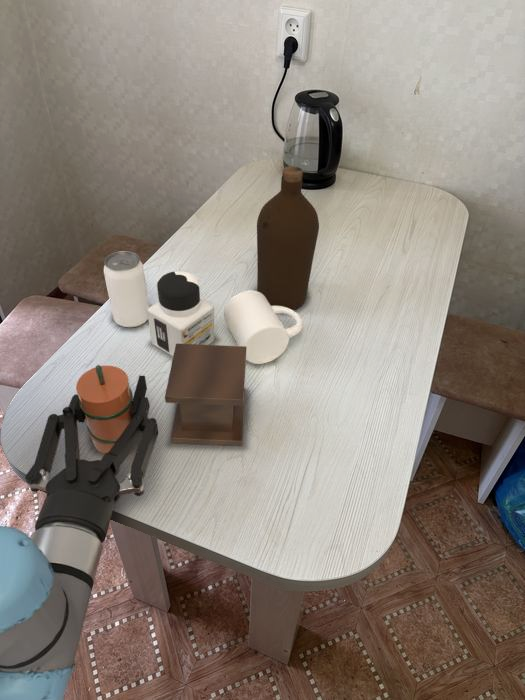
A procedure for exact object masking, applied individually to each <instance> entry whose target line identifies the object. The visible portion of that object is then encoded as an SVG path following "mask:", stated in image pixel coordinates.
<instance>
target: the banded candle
mask: <svg viewBox="0 0 525 700" xmlns="http://www.w3.org/2000/svg"><path fill="white" fill-rule="evenodd" d="M129 380H130V379H129V376H128V374H127V372H125V371H124V370H123V369H122V368H120V367H118V366H114V365H100V364H97V365H96V366H95V367H93V368H91V369H88V370H87V371H85V372H83V374H82V375H81V376H80V377H79V378H78V380H77V382H76V386H75V390H76V394H77V395H78V397H79V400H80V401H79V403H80V407H81V410H82V412H83V413H84V416H85V422H86V427H87V428H86V429H87V432H88V434H89V437H90V439H91V441H92V444H93V446H94V448H95V449H96V450H97V451H98V452H100V453H101V454H104V455H105V453H108V452H109V451H110V450H111V448H112V447H113V445H114V444H115V443H116V441H117V440H118V438H119V437H120V436H121V434H122V433H123V431H124V430H125V429H126V427H127V426H128V424H129V423H130V422H131V416H130V408H131V405H132V401H133V397H134V394H133V391H132V388H131V386H130V385H131V384H130V381H129Z"/></svg>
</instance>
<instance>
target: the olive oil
mask: <svg viewBox="0 0 525 700" xmlns="http://www.w3.org/2000/svg"><path fill="white" fill-rule="evenodd" d="M303 175H304V170H303V169H302V168H301V167H299V166H295V165H288V166H285V167H283V169H282V176H281V179H280V180H281V181H280V191H279V192H278V193H276V194H275V195H274V196H273V197H271V198H270V199H269V200H268V201H266V203H265V204H264V205H263V206H262V208H261V209H260V211H259V214H258V216H257V221H256V255H257V257H256V260H257V261H256V264H257V265H256V266H257V267H256V268H257V270H256V271H257V277H256V278H257V283H256V291H258V292H260V293H262V294H263V295H264V296H265V297H266V299H267V301H268V302H269V304H270V305H271V306H283V307H287V308H289V309H291V310H293V311H295V310H297V309H299V308H301V307H303V305H304V304H305V303H306V300H307V295H308V291H309V284H310V277H311V271H312V268H313V263H314V256H315V252H316V247H317V241H318V236H319V231H320V222H319V216H318V212H317V210H316V208H315V207H314V205H313V204H312V203H311V202H310V201H309V199H308V198H307V197H305V195H304V194H303V193H302V187H303V180H304V179H303Z"/></svg>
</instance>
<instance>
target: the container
mask: <svg viewBox="0 0 525 700" xmlns="http://www.w3.org/2000/svg"><path fill="white" fill-rule="evenodd" d="M156 288H157V297H158V301H157V302H156V303H154V304H152V305H151V306H149V308H148V309H147V313H148V320H147V321H148V327H149V333H150V341H151V344H152V345H153V346H155V347H157V348H158V349H160V350H161V351H163V352H164V353H167V354H168V355H170V356H171V357H173V355H174V351H175V346H176V344H199V345H211V343H213V342H214V341H215V337H216V336H215V335H216V334H215V307H214V304H211V303H210V302H208V301H206V300H205V299H203V298H201V297H202V296H201V282H200V279H199V278H198V277H197V276H196V275H194V274H193V273H191V272H188V271H185V270H176V271H175V270H174V271H170V272H167V273H165V274H163V275H162V276H161V277H160V278H159V280H158V281H157V283H156Z"/></svg>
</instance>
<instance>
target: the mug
mask: <svg viewBox="0 0 525 700" xmlns="http://www.w3.org/2000/svg"><path fill="white" fill-rule="evenodd" d="M277 314H284V315H286V316H289V317H290V318H291V319H292V320H293V321H294V323H295V324H294V325H292V326H291V327H288V328H285V325H283V323H282V321H281V320H280V318H279V317H278V315H277ZM223 319H224V321H225V323H226V325H227V327H228V330H229V331H230V332H231V335H232V336H233V339H234V340H235V343H236V345H237V346H245V347H247V349H246V362H249V363H251V364H254V365H262V364H267V363H270V362H272V361H274V360H276V359H278V358H279V357H280V356H281V355H282V354H283V353H284V352H285V350H286V349H287V347H288V345H289V342H290V338H292V337H294V336H297V335H298V334H300V333H301V331H302V330H303V328H304V327H303V326H304V325H303V324H304V323H303V319H302V318H301V316H300V315H299V313H298V312H296V311H295V310H291V309H289V308H287V307H283V306H271V305H270V304H269V302H268V301H267V299H266V297H265V296H264V295H263V294H262V293H260V292H258V291H257V290H252V289H251V290H249V289H248V290H244V291H241V292H239V293H236V294H235V295H234V296H232V297H231V298H230V299H229V300H228V301H227V302H226V305H225V306H224V309H223Z"/></svg>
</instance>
